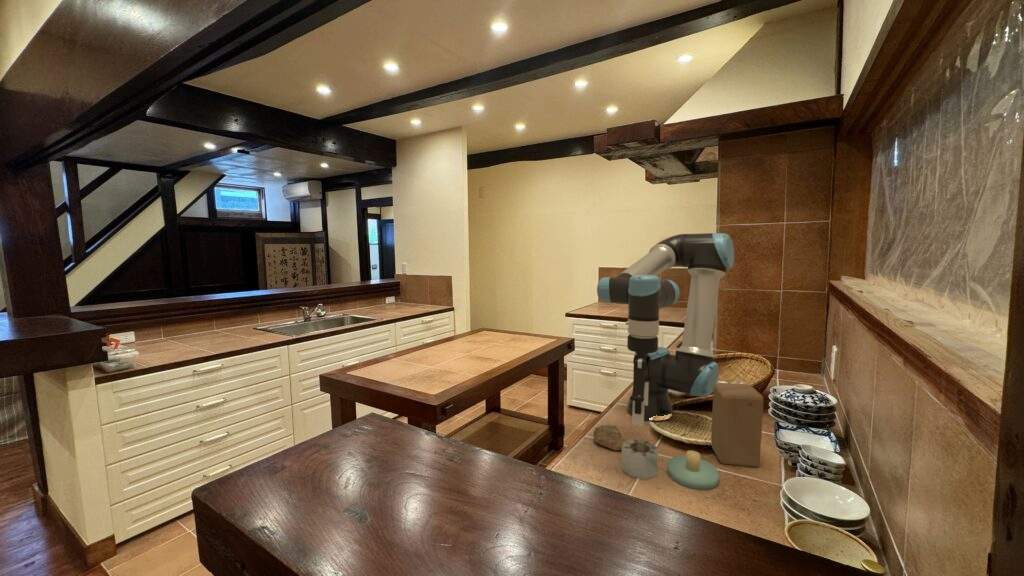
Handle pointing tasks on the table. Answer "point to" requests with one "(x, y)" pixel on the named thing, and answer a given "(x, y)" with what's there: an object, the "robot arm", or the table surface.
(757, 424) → the wooden block
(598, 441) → the rock
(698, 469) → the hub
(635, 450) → the collar ring
